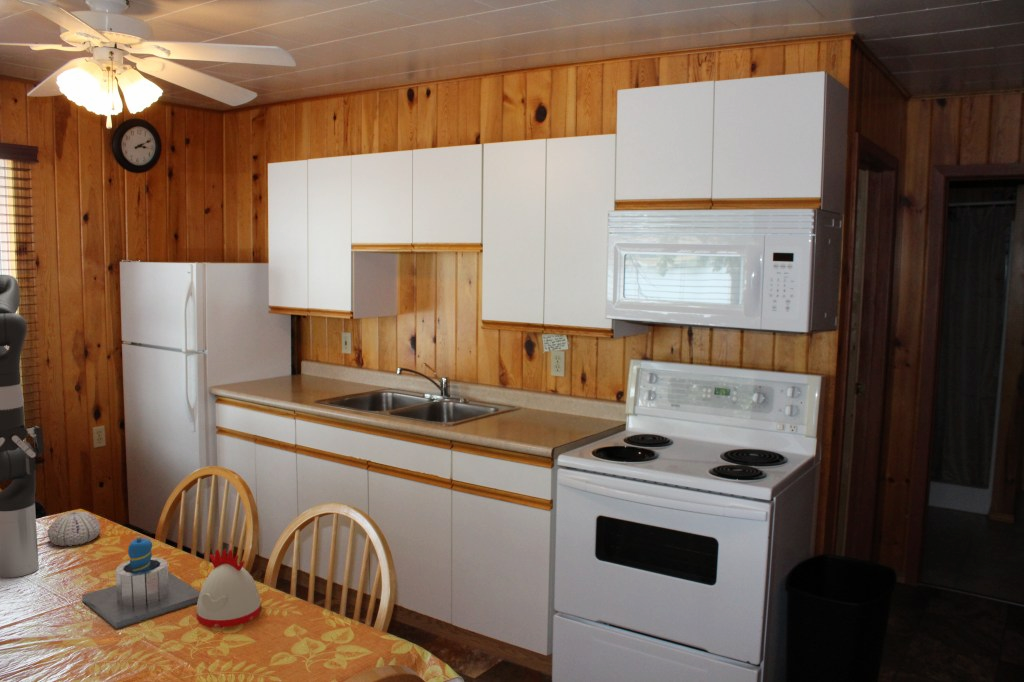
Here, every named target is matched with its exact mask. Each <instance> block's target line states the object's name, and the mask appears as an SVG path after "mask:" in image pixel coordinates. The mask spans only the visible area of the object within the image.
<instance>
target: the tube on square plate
mask: <svg viewBox="0 0 1024 682" xmlns="http://www.w3.org/2000/svg"><path fill="white" fill-rule="evenodd" d="M168 563H169V562H168V560H166V559H164V558H162V557H154V556H152V557H151V560H150V564H151V566H150V570H149V571H147V572H142V573H133V568H132V567H131V565H130V560H126V561H124V562H122V563H121V564H119V565H117V567H116V568H115V569H116V570H115V585H112V586H109V587H106V588H101V589H98V590H95V591H91V592H88V593H84V594H82V595H81V597H82V598H81V599H82V602H83V603H84V604H86V606H88V607H89V608H91V610H92V611H94V612H95V613H96V614H97V613H98V614H97V615H99V616H100V617H101V618H102V619H103V618H104V619H103V620H105V621H106V622H107V623H108V624H109V625H110V626H112V627H113V628H114V629H116V630H119V629H122V628H124V627H128V626H131V625H134V624H137V623H140V622H143V621H146V619H147V620H149V618H150V619H152V617H153V618H155V616H156V617H158V615H159V616H161V614H162V615H165V614H168V613H171V612H174V611H177V610H180V609H183V608H186V607H189V606H193V605H195V604H196V605H197V602H198V598H199V595H200V591H199V590H198V589H196V588H195V587H193V586H192V585H190V584H188V583H187V582H185V581H183V580H182V579H181V578H179V577H178V576H176V575H174V574H173V573H171V572H170V571H169V570H168V569H169V568H168ZM164 613H165V614H164ZM139 621H140V622H139Z"/></svg>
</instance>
